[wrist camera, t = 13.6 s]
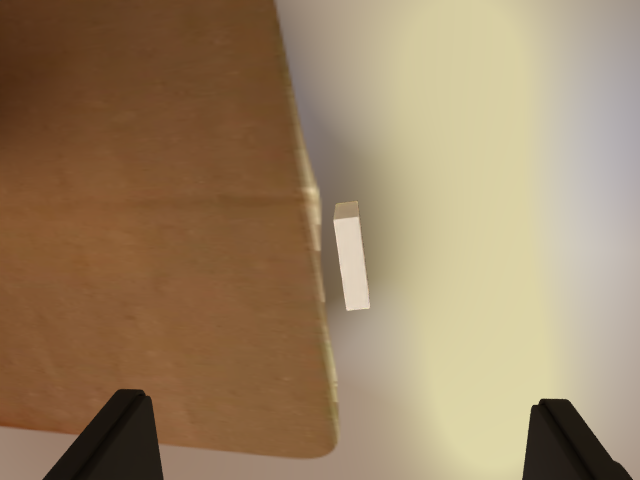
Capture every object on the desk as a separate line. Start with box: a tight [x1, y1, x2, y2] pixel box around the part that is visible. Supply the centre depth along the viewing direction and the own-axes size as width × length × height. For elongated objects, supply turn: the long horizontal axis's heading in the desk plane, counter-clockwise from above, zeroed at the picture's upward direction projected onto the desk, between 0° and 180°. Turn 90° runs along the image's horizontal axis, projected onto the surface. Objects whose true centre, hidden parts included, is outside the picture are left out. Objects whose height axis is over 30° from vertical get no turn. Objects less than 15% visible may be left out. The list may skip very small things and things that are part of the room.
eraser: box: [334, 201, 370, 311], centre depth 24 cm, size 1×5×4 cm, turn 8°
